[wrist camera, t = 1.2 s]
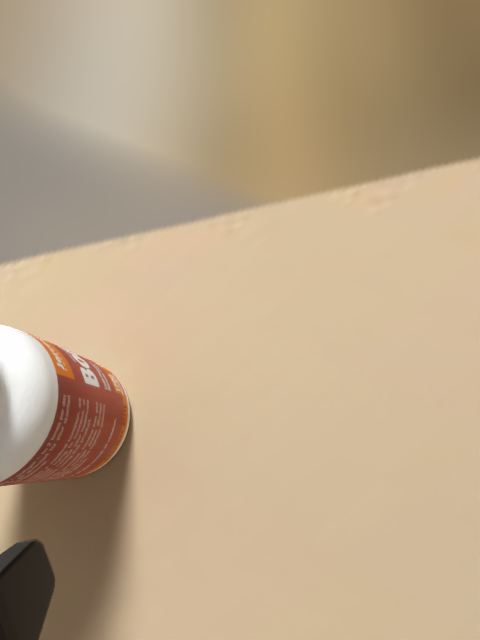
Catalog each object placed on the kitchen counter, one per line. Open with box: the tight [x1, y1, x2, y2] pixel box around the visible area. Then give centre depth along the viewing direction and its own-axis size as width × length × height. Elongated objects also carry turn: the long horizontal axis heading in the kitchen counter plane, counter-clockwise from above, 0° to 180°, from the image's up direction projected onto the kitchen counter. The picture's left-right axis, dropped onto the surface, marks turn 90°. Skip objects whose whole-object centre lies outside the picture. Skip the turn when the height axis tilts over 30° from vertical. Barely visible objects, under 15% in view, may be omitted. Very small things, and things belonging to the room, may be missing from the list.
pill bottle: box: [0, 325, 130, 486], centre depth 18 cm, size 6×6×11 cm
